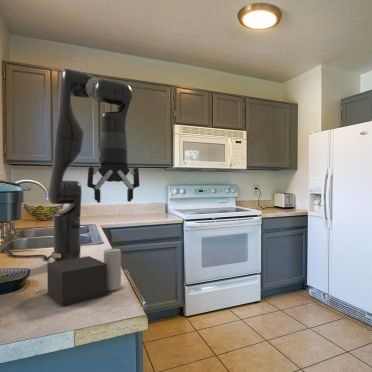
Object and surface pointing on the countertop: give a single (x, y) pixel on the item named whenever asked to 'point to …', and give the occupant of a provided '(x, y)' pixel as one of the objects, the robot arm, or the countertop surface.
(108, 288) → the beverage can
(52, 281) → the dark grey lidded box
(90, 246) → the countertop surface
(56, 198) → the robot arm
